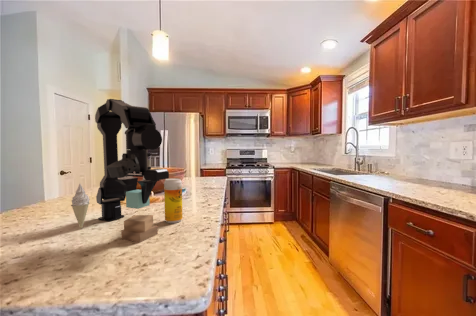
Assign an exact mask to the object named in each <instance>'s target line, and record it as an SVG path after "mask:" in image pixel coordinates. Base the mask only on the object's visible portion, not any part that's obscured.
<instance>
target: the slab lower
mask: <svg viewBox="0 0 476 316" xmlns="http://www.w3.org/2000/svg"><path fill="white" fill-rule="evenodd" d="M158 231H159V229H158V225H156V224H153V225H152V226H151V227H150V228H149V229H148V230H146V231H145V232H124V229H121V232H120V234H121V240H125V241H130V242H135V243H143V242H145V241H147V240H149V239H150V238H153V237H155V236H156V235H159V233H158Z"/></svg>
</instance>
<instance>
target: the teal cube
mask: <svg viewBox="0 0 476 316" xmlns="http://www.w3.org/2000/svg"><path fill="white" fill-rule="evenodd" d="M150 200H151V199H150V196H149V198H148V200H147V203H145V204H143V202H142V192H141V189H137V188H136V190H133V191H128V192H126V196H125V204H126V205H125V207H126V208H127V209H135V210H136V209H137V210H138V209H142V208H144V207H149V206H150V204H151V201H150Z"/></svg>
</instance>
